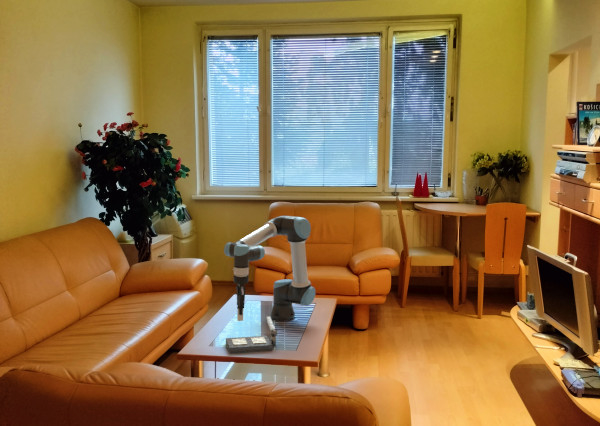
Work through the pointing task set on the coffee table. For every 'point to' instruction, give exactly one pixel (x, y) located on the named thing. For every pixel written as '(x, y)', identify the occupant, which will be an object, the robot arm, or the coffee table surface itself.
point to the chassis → (250, 344)
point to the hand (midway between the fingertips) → (240, 320)
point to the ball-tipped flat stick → (271, 327)
